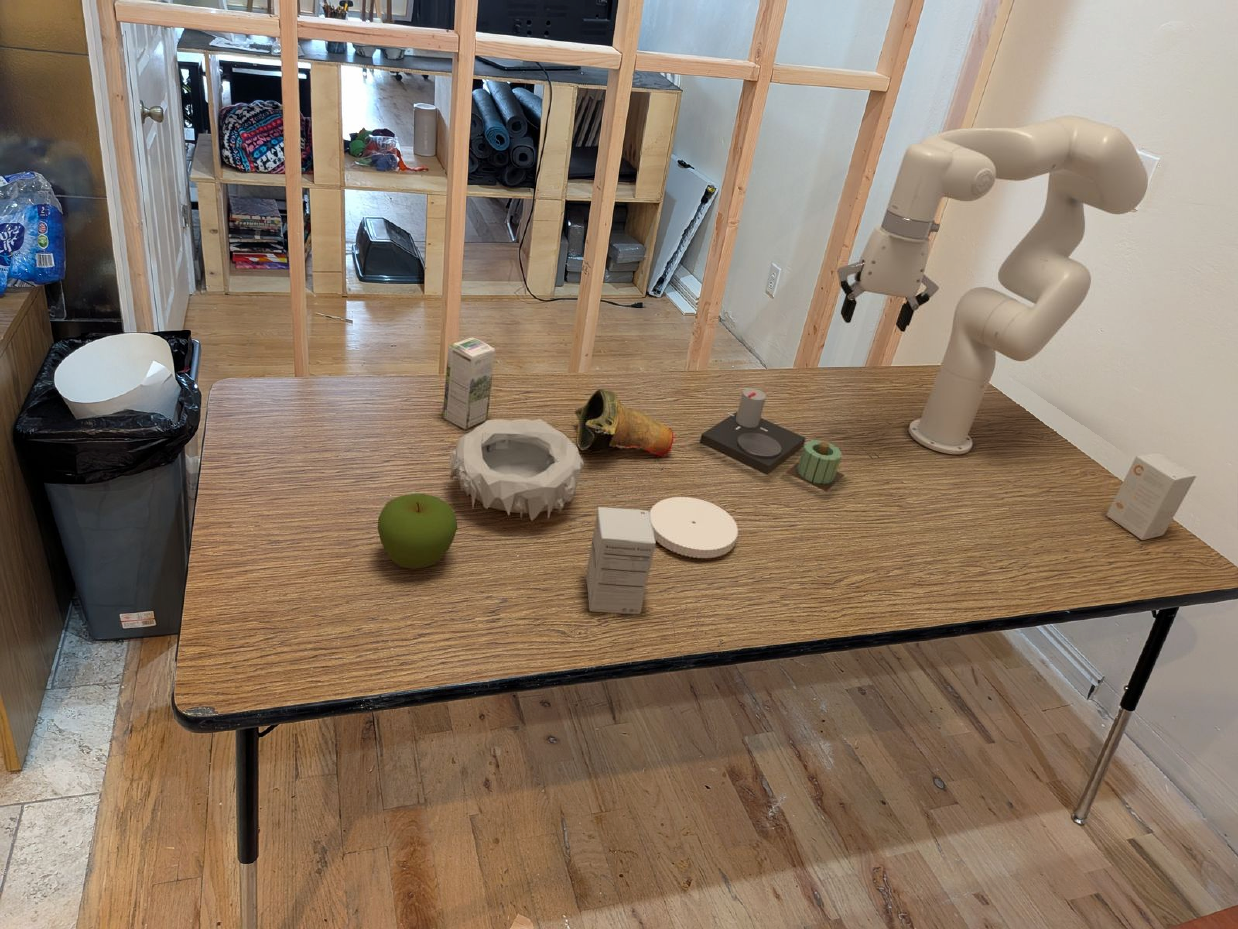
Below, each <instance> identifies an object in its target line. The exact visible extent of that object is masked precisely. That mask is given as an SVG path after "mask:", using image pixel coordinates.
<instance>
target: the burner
mask: <svg viewBox="0 0 1238 929" xmlns="http://www.w3.org/2000/svg"><path fill="white" fill-rule="evenodd" d="M737 445H738V447H739V448H740V449H741V450H742V451H743V452H745V453H747V454H749V455H751V456H754V457H758V458H764V459H770V458H775V457H777V456H779V455H780V453H781V445H780V444H779V443H778V442H777V441H776V440H774V439H773V438H771V437H769V436H766V435H763V434H759V433H745V434H742V435H740V436H739V437H738V440H737Z"/></svg>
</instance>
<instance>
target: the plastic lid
mask: <svg viewBox="0 0 1238 929" xmlns="http://www.w3.org/2000/svg"><path fill="white" fill-rule="evenodd" d="M649 513H650V518H651V523H652V527H653V532H654V537H655V541H656V542H657V543H659V545H661V546H662V547H664V548H665V549H667V550H669V551H671V552H673V553H676V554H680V555H681V556H684V557H689V558H697V559H700V558H701V559H711V558H718V557H722V556H724V555H725V554H727V553H729V552H730V551H732V549H733V548H734V547H735V545H736V543H737V539H738V536H739V527H738V524H737V522H736V520H735V519H734V518H733V517H732V515H731V514H729V512H727V511H726V510H724V508H721V507H720V506H718V505H716V504H714V503H712V502H710V501H707V500H704V499H700V498H696V497H692V496H691V497H688V496H672V497H668V498H663V499H661V500H659V501H657V502H656V503H655V504H653V506H652V507H651V508H650V510H649Z"/></svg>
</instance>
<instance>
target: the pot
mask: <svg viewBox="0 0 1238 929" xmlns="http://www.w3.org/2000/svg"><path fill="white" fill-rule="evenodd" d="M573 413H574V415H575V416H576V418H577V420H578V427H577V430H576V431H577V434H576V435H577V436H576V439H577V440H576V444H577V446H578V448H579V449H580V450H583V451H584V450H587V451H589V452H592V453H597V452H602V451H606V450H607V451H608V450H616V449H618V448H619V449H633V448H635V449H637V450H639V451H640V450H641V449H643V450H645V451H648V452H650V453H651V454H654V455H657V456H661V458H663V459H664V457H665V456H666V455H668V454H669V453H670V452H671V449H672V446H673V443H674V437H675V435H674V431H673V429H671V427H670V428H669V427H667V426H666V425H665V424H663V423H662V422H660V421H659V420H657V419H654V418H653V417H651V416H650V415H648V414H645V413H644V412H641V411H639V410H635V409H633V408H630V407H627V406H626V405H624V404H623V403H622V402H621V401H620V400H619V397H618V395H617V393H616V392H615V391H611V390H605V389H601V388H599V389H598V388H597V390H596V391H594V393H592V395H591V396H590V398H588V400H587V402H586V404H585V405H583V406H582V407H579V408H578V409H576V410H574V411H573Z"/></svg>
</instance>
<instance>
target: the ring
mask: <svg viewBox="0 0 1238 929" xmlns="http://www.w3.org/2000/svg"><path fill="white" fill-rule="evenodd" d="M820 442H826V441H824V440H819V439H811V440H807V441H805V442H804V446H803V447H802V451H801V454H800V457H799V461H798V462H799V464H798V467H797V471H798V472H799V474H800V475H801V476H802V477H805V478H804V479H806V480H808V481H811V482H812V481H813V482H814V483H819V484H821V483H822V484H827V483H831V482H832V481H833V480H834V478H835V475H836V472H838V468H839V466H840V462H841V459H842V457H843V454H842V451H841V449H840V448H839V447H837V446H835V444H832V443H830V442H828V441H827V442H826V443H828V444H829V445H830V447H829V450H828V453H827V456H826V455H821V454H819V453H817V450H818V447H819V444H820Z"/></svg>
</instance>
